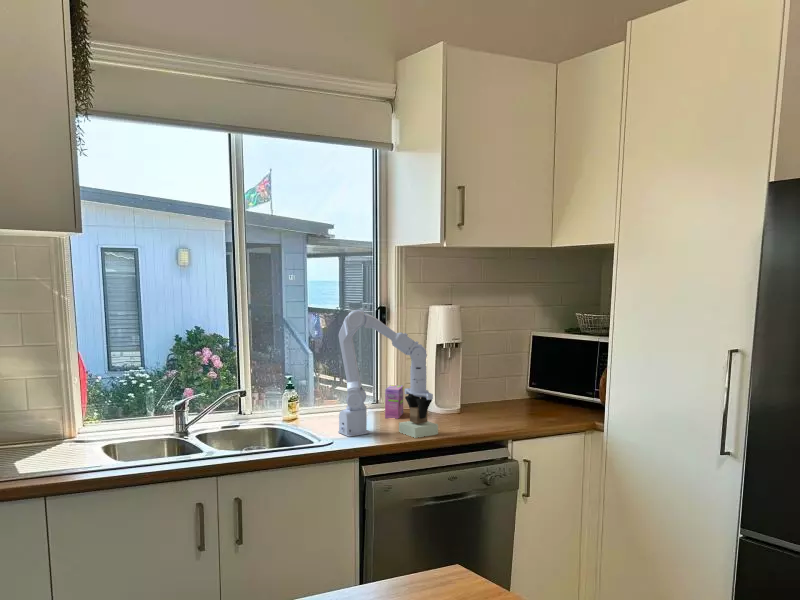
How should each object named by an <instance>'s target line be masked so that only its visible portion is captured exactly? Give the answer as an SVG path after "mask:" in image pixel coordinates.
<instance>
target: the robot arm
mask: <svg viewBox="0 0 800 600" xmlns="http://www.w3.org/2000/svg"><path fill="white" fill-rule="evenodd" d="M362 327H364V328H365V329H373V330H375V331H377V333H380V334H381V335H383V336H384V337H386V338H387V339H388V340H390V341H391V344H392V346H393V347H394V348H396V349H397V350H398V351H400V352H401V353H403V354H404V355H406V356H409V357H410V360H411V361H410V363H411V365H410V372H409V373H410V378H409V379H410V383H409V384H410V385H409V386H410V387H408V388H404V394H405V397H404V398H405V400H406V402H407V405H408V407H409V409H410V407H417V406H418V408H419V417H420V419H422V418H426V414H427V415H428V410H429V407H430V405H431V403H432V401H433V399H434V394H433V393H431V392H429V390H428V389H427V360H426V359H427V356H428V354H427V349H426V348H425V346H423V345H422V344H419V341H415V340H414V339H412V338H410V336H408V333H406V332H404V333H403V332H396V331H394V330H393V329H392V328H390V327H389V326H387V325H386V324H385V323H383V322H382V321H381V320H379V319H378V318H376V317H374V316H373V315H371V314H370V313H367V312H365V311H364V310H362V309H355V310H352V311H350V312H349V313H348V314H347V315H346V317H344V320H343V322H342V325H341V327H340V330H339V332H338V341H339V345H340V346H339V347H340V351H341V357H342V362H343V368H344V372H345V378H346V389H347V390H346V391H347V396H346V399H345V400H346V404H347V405H346V407H345V409H342V410H340V412H339V415H338V431H337V432H338V433H339V434H341V435H344V436H347V437H354V436H355V437H356V436H361V435H366V434H369V435H370V434H372V431H370V430H367V429H368V426H367V423H368V421H367V415H368V414H367V413H368V412H367V411H368V410H367V409H368V408H367V405H365V401H366V400H367V393H366V391H365V390H364V388H363V385H362V381H361V378H360V373H359V366H358V362H357V356H356V350H355V344H354V339H353V337H354V335H355V334H356V332H357V331H358V330H359V329H360V328H362ZM406 395H407V396H406Z"/></svg>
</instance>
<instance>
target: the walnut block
mask: <svg viewBox="0 0 800 600" xmlns="http://www.w3.org/2000/svg"><path fill="white" fill-rule="evenodd" d="M409 421H410V422H413V423H416V424H419V423H425V422H427V421H428V413H427V414H426V418H422V419H420V417H419V408H418V406H417V407H410V408H409Z"/></svg>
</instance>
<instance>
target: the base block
mask: <svg viewBox="0 0 800 600" xmlns="http://www.w3.org/2000/svg"><path fill="white" fill-rule="evenodd" d="M399 432H400V434H402V433H403V435H405V434H406V435H405V436H408V435H409V436H408V437H410V436H411V438H413V437H414V439H419V438H423V437H424V436H425V437H429V436H435V435H439V424H438V423H435V422H432V421H428V420H427V422H425V423H419V424H416V423H413V422H410V420H409V421H408V420H407V421H402V422H398V433H399ZM418 437H419V438H418Z"/></svg>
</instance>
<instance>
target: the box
mask: <svg viewBox="0 0 800 600" xmlns="http://www.w3.org/2000/svg"><path fill="white" fill-rule="evenodd" d="M404 392H405V387H404V385H399V384H396V385H395V384H390V385H389V386H388V387H386V388H384V419H388V418H395V419H394V420H399V419H400V418H401V417H402V416H403V414H404Z"/></svg>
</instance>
